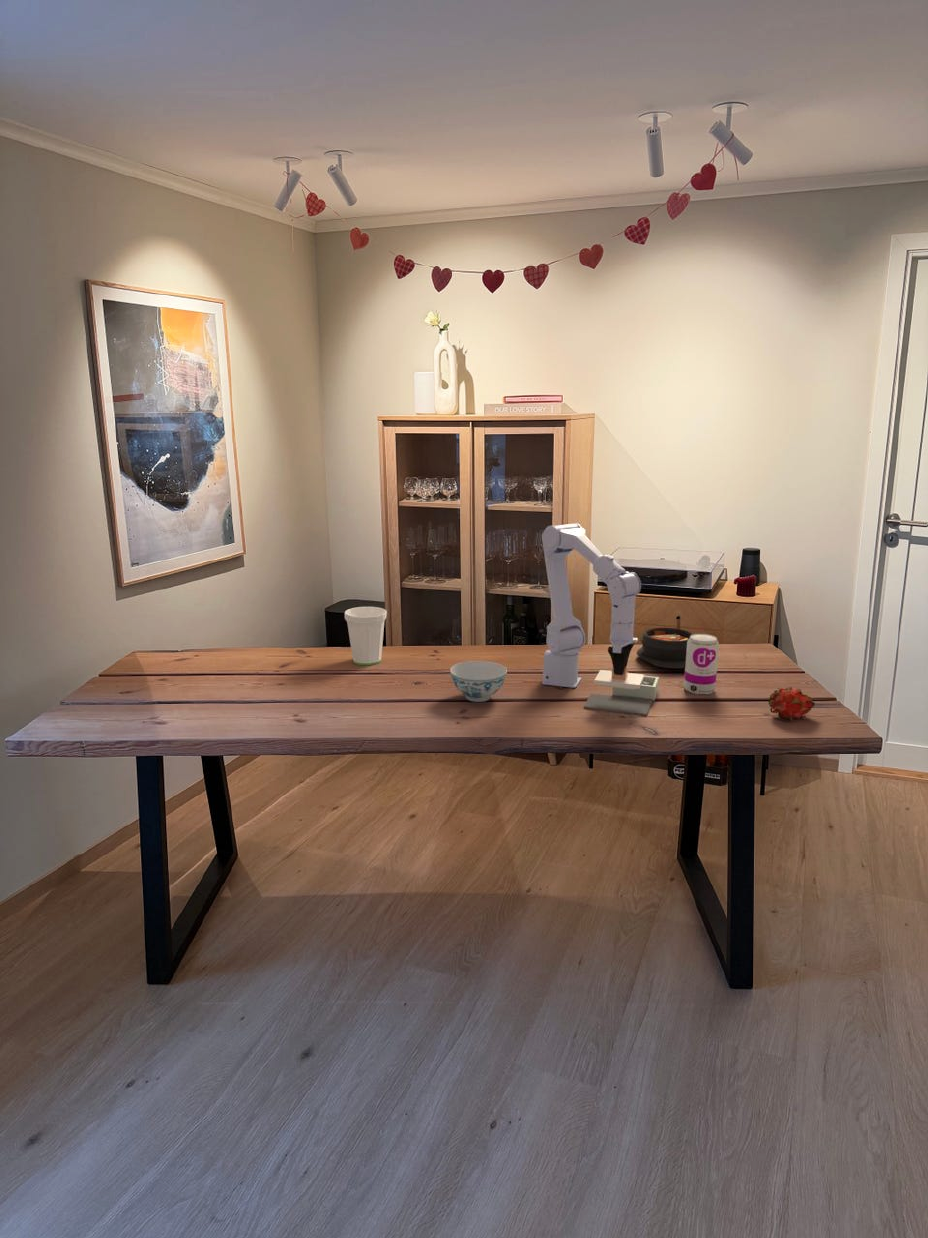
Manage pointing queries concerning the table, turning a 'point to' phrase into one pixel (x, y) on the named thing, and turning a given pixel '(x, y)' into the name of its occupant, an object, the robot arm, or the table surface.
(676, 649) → the casserole
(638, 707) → the mat
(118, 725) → the table surface
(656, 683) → the storage box
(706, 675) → the supplement can
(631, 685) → the lid
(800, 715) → the dragon fruit
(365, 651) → the cup
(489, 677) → the chinaware
